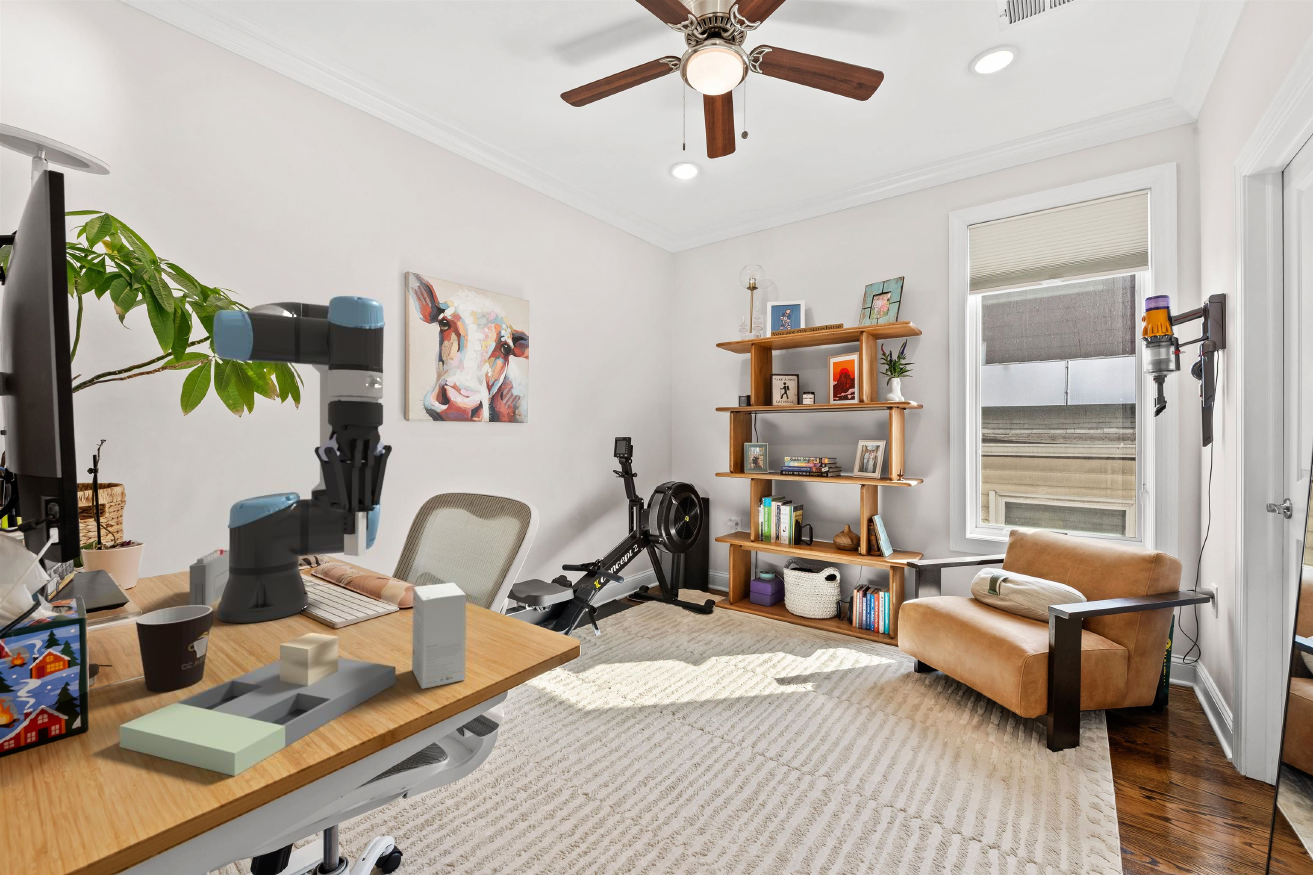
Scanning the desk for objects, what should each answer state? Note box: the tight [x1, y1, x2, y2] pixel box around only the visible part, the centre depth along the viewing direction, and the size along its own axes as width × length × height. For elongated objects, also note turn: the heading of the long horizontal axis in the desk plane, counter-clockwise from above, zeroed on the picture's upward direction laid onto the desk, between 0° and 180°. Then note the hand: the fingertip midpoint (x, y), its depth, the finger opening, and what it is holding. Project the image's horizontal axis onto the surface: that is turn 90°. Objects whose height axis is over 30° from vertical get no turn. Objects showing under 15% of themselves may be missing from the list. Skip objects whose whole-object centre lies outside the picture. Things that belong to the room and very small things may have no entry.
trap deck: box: [119, 656, 397, 777], centre depth 77 cm, size 24×18×2 cm
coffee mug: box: [135, 604, 214, 694], centre depth 86 cm, size 12×9×10 cm
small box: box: [411, 582, 467, 690], centre depth 89 cm, size 8×6×13 cm
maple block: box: [279, 632, 339, 686], centre depth 82 cm, size 5×5×5 cm
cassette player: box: [189, 548, 229, 607], centre depth 125 cm, size 16×3×10 cm, turn 17°
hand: (355, 554), depth 89 cm, fingers closed
